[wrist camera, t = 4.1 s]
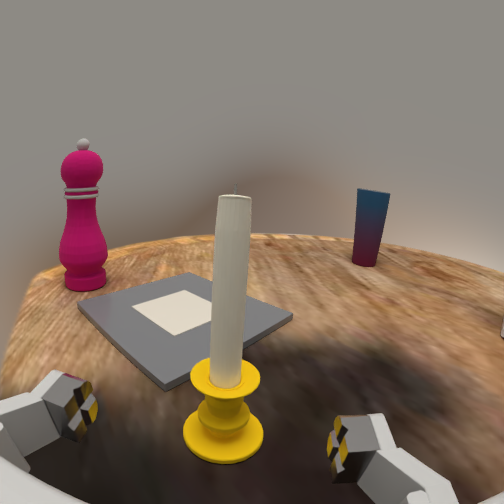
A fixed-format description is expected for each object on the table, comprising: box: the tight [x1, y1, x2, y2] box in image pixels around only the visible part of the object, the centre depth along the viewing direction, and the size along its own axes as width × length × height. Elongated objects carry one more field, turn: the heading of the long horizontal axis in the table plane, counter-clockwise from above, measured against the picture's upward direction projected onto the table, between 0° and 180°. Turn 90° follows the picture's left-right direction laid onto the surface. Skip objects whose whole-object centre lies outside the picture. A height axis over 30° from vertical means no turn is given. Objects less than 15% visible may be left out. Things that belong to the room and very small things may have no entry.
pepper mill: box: [59, 139, 108, 291], centre depth 36 cm, size 7×7×20 cm
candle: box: [183, 184, 263, 464], centre depth 15 cm, size 5×5×16 cm
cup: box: [352, 188, 390, 267], centre depth 58 cm, size 7×7×15 cm
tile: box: [77, 272, 293, 392], centre depth 33 cm, size 18×18×1 cm
